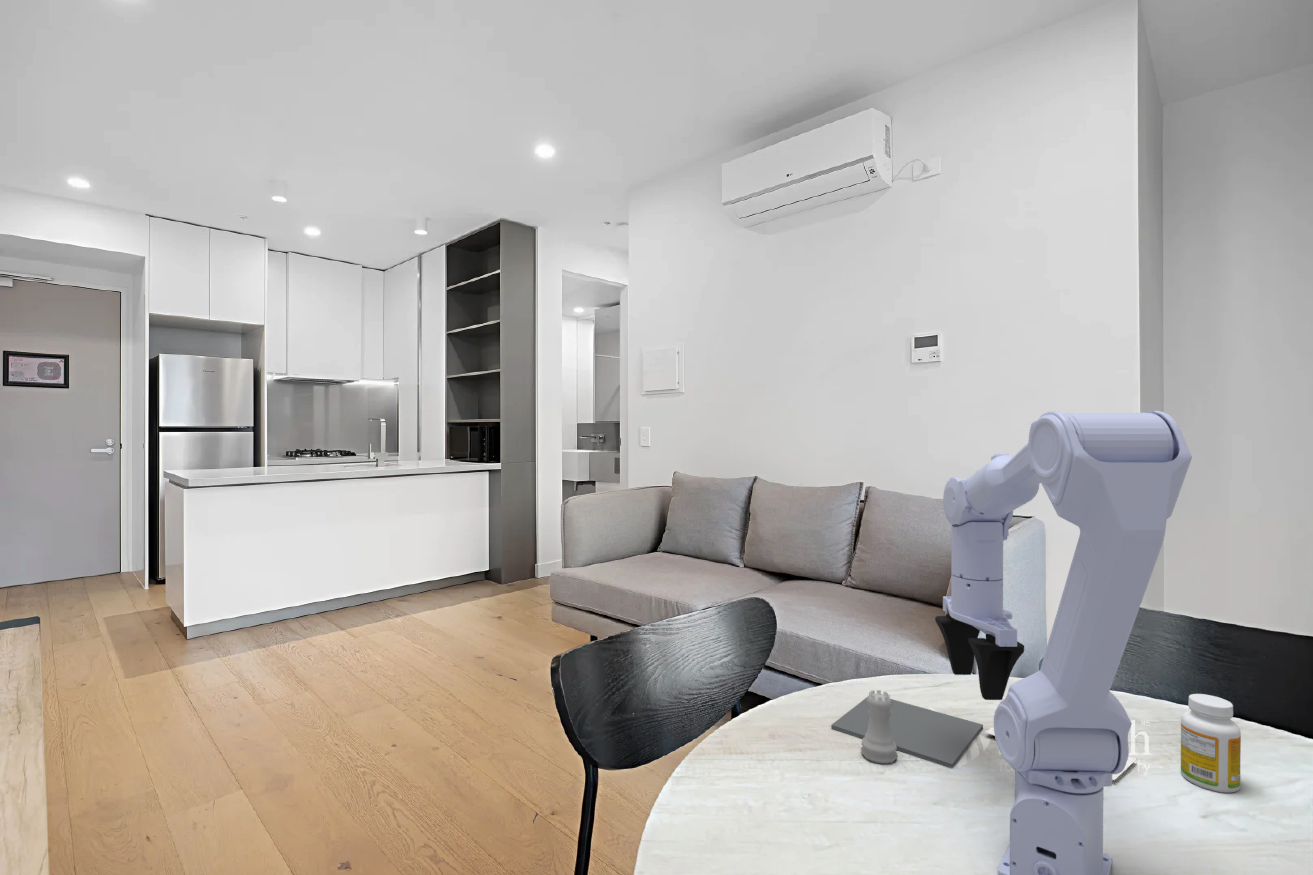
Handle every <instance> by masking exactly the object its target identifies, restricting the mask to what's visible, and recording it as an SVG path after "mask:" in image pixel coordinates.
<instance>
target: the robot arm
mask: <svg viewBox="0 0 1313 875" xmlns="http://www.w3.org/2000/svg"><path fill="white" fill-rule="evenodd" d="M1178 424H1179V423H1177V422H1176V420H1175V419H1174V418H1173V417H1172V416H1171V415H1170V414H1168V413H1166V412H1163V411H1160V410H1148V411H1144V412H1062V411H1059V410H1050V411H1046V412H1043V414H1041V415H1040V417H1038V419H1037V420H1035V421H1032V422H1031V424H1030V428H1029V433H1028V440H1027V441H1028V442H1027V443H1026V444H1025V445H1024V446H1023V447H1022V448H1021V449H1020V450H1018V451H1017V453H1016V454H1014V455H1013V454H1012V455H1011V454H1009V453H995V454H993V455H992V456H991V457H990V461H989V462H988V463H986V464H985V465H984V466H982V467H981V468H978V469H977V470H976V471H975V472H974V473H973V474H972V475H970V476H969V477H968V478H960V477H957V476H952V477H951V476H950V478H949V480H948V481H947V482H946V484H945V487H944V490H943V494H942V495H943V496H942V502H943V503H942V504H943V512H944V514H945V517H946V520H947V521H948V522H949V523H950V524H951V553H950V554H951V565H950V566H951V570H950V571H951V574H950V575H951V577H950V578H951V583H950V586H951V589H950V591H951V593H950V596H946V595H945V596H942V611H943V612H945V613H946V614H945V615H937V616H935V618H934V620H935V623H936V625H937V626H938V628H939V631H940V632H941V635H942V637H943V640H944V643H945V645H946V650H947V654H948V659H949V664H950V667H951V671H952V674H954V676H971V675H972V673H973V668H974V663H975V662H974V661H976V666H977V667H976V668H977V672H978V674H977V675H978V683H979V689H980V694H981V698H982V699H984V700H985V701H1000V702H999V704H998V706H997V707H996V709H995V711H994V713H993V714H994V715H993V727H994V733H995V736H994V737H995V742H996V745H997V748H998V751H999V752H1000V754H1001V756H1002V758H1003V759H1004V761H1005V762H1006V763H1007V764H1008V766H1010V768H1012V770H1014V802H1013V805H1012V807H1011V810H1010V814H1009V843H1008V846H1007V848H1006V850H1005V853H1004V855H1003V857H1002V859H1001V860H1000V863H999V865H998V867H997V874H998V875H1111V870H1112V866H1113V858H1112V856H1110V855H1109V854H1107V853H1104V788H1105V787H1112V786H1113V780H1112V774H1118V773H1120V772H1122V771H1123V769H1124V768H1125V765H1126V763H1127V759H1128V756H1129V754H1130V753H1129V752H1130V749H1129V748H1130V747H1129V733H1130V729H1131V726H1132V721H1131V719H1130V717H1129V715H1128V713H1127V710H1126V709H1125V708H1124V706H1123V704H1122V703H1121V702H1120V700H1119V699H1118V698H1117V697H1116V695H1114V694H1113V692H1111V688H1112V686H1113V683H1114V680H1115V677H1116V674H1117V672H1118V670H1119V669H1118V668H1119V666H1120V664H1121V661H1122V658H1123V655H1124V653H1125V650H1126V646H1127V644H1128V641H1129V638H1130V636H1131V633H1132V630H1133V627H1134V625H1135V622H1136V619H1137V617H1138V613H1139V610H1140V607H1141V606H1142V605H1141V604H1142V602H1143V600H1144V596H1145V594H1146V591H1147V588H1148V585H1149V583H1150V580H1151V577H1152V574H1153V571H1154V568H1155V565H1156V563H1157V561H1158V557H1159V555H1160V553H1161V550H1162V546H1163V542H1164V540H1165V536H1166V528H1167V521H1168V519H1169V518H1171V517H1172V515H1173V512H1174V509H1175V507H1176V504H1177V501H1178V498H1179V496H1180V492H1181V489H1182V487H1183V484H1184V481H1185V478H1186V475H1187V472H1188V469H1189V467H1190V465H1191V461H1192V459H1193V456H1192V454H1191V451H1190V449H1189V446H1188V445H1187V441H1186V439H1185V437H1184V435H1183V432H1182V429H1181V428H1180V427H1179V425H1178ZM1040 484H1041V486H1042V487H1043V489H1044V491H1045V493H1046V495H1047V498H1048V499H1049V501H1050V503H1051V505H1052V507H1053V509H1054V510H1055V513H1056V515H1057V516H1058V517H1059V518H1061V519H1063V520H1065V521H1067V522H1069V523H1071V524H1072V525H1074V526H1076V527H1078V529H1079V536H1078V541H1077V542H1076V547H1075V550H1074V553H1073V556H1072V557H1073V558H1072V560H1071V562H1070V563H1071V564H1070V567H1069V569H1068V570H1069V571H1068V574H1067V577H1066V580H1065V584H1064V587H1063V591H1062V594H1061V596H1060V597H1061V598H1060V601H1059V605H1058V607H1057V611H1056V615H1055V617H1054V622H1053V624H1052V629H1051V631H1050V634H1049V638H1048V641H1047V646H1046V649H1045V652H1044V655H1043V659H1042V662H1041V666H1040V669H1039V670H1038V671H1036V672H1034V673H1032V674H1030V675H1028V676H1025V677H1024V678H1022V679H1019V680H1018V681H1015V682H1014V683H1012V684H1010V685H1009V687H1008V691H1007V693H1006V696H1005V698H1004V695H1005V691H1006V688H1007V685H1008V683H1009V678H1010V676H1011V674H1012V671H1013V669H1014V667H1015V665H1016V664H1017V662H1018V660H1019V659H1020V657H1022V655H1023V654H1024V653H1025V644H1023V643H1021V642H1019V641H1018V629H1016V628H1015V627H1014V626H1012V625H1011V622H1010V621H1009V620H1012V619H1013V613H1012V612H1011V611H1008V610H1006V609H1004V541H1008V537H1009V528H1010V527H1009V526H1010V524H1011V521H1012V518H1013V515H1014V512H1015V510H1017V509H1019V508H1021V507H1022V506H1024V505H1026V504H1027V503H1029V502H1031V501H1032V500H1034V499H1035V497H1037V495H1038V493H1039V490H1040ZM980 633H983V634H985V637H979V635H980Z"/></svg>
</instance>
